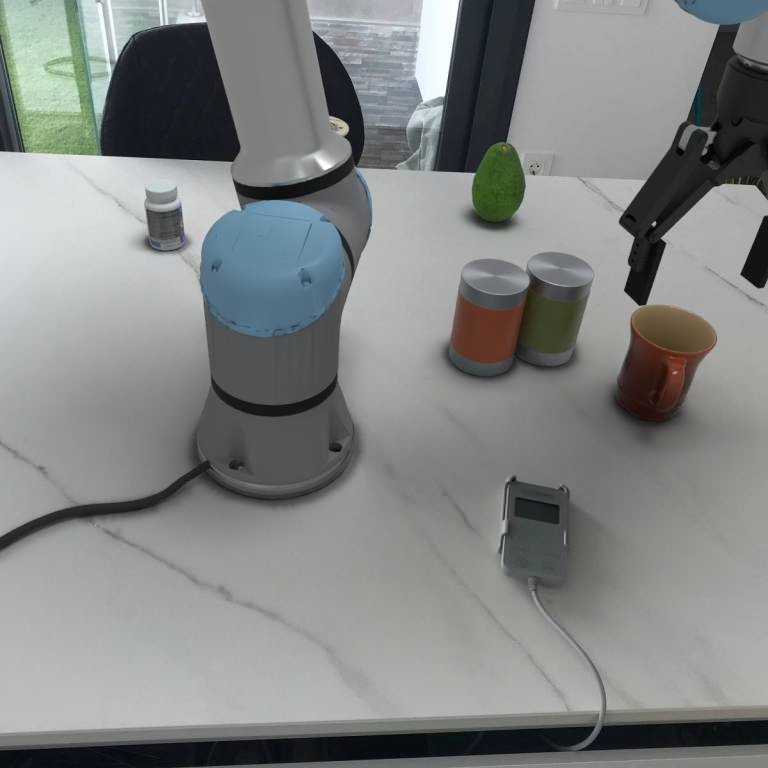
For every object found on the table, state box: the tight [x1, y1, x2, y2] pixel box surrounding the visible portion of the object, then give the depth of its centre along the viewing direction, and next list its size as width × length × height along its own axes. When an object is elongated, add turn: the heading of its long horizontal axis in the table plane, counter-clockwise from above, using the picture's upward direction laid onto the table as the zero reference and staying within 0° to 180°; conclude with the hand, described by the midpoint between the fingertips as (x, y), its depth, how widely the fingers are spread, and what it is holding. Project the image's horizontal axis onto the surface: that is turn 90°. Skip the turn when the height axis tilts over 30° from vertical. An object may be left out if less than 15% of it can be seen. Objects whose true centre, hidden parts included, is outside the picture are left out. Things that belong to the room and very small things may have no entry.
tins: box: [448, 251, 595, 377], centre depth 88 cm, size 16×8×11 cm, turn 108°
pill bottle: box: [143, 178, 186, 251], centre depth 103 cm, size 5×5×8 cm
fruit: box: [471, 141, 527, 223], centre depth 114 cm, size 8×8×12 cm
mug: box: [614, 304, 718, 422], centre depth 82 cm, size 12×9×10 cm
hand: (694, 289), depth 75 cm, fingers open, 13 cm apart
